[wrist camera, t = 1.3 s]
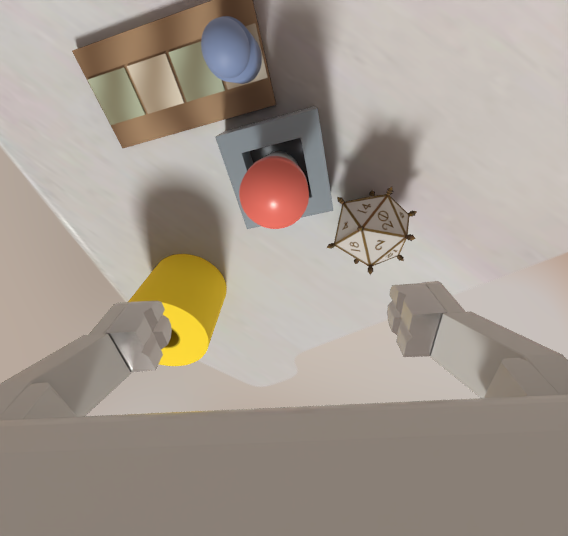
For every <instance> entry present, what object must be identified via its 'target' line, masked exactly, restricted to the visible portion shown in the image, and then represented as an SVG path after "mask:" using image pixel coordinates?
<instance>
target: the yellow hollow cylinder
mask: <svg viewBox="0 0 568 536" xmlns="http://www.w3.org/2000/svg"><path fill="white" fill-rule="evenodd" d="M225 296H226V283H225V280H224V278H223V276H222V274H221V273H220V271H219V270H218V269H217V268H216V267H215V266H214V265H212V264H211V263H210V262H208V261H206V260H205V259H203V258H200V257H197V256H194V255H189V254H176V255H171V256H169V257H166V258H165V259H163V260H162V261H160V262H159V264H158V265H157V266H156V267H155V269H154V270H153V271H152V272H151V274H150V275H149V276H148V277H147V279H146V280H145V281H144V282H143V284H142V285H141V286H140V287H139V289H138V290H137V291H136V293H135V294H134V295H133V296H132V298H131V299H130V300H129V301H128V302H138V301H160V302H162V304H163V306H164V309H165V310H164V313H163V315H164V316H166V317H167V318H168V319H169V321H170V323H171V329H172V332H171V338H170V341H169V343H168V345H167V346H165V347H164V348H163V349H161V351H162V353H163V356H162V358H161V360H160V362H159V364H160V365H166V366H182V365H188V364H191V363H193V362H196V361H197V360H199V359H200V358H202V357H203V356H204V354H205V353H206V351H207V349H208V346H209V343H210V340H211V337H212V334H213V331H214V328H215V325H216V322H217V319H218V316H219V313H220V310H221V307H222V305H223V302H224V299H225Z"/></svg>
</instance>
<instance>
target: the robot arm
mask: <svg viewBox="0 0 568 536" xmlns="http://www.w3.org/2000/svg"><path fill="white" fill-rule="evenodd" d="M390 297H391V299H392V302H391V303H390V304H389V305H388V310H387V315H388V322H389V326H390V328H391V331H392V332H394V333H395V334H396V335H397V344H398V346H399V348H400V350H401V352H402V354H403V357H415V356H416V357H417V356H431V358H432V359H433V360H434V361H435V362H437V363H438V364H439V365H440V366H442V367H443V368H444V369H445V370H447V371H448V372H449V373H450V374H452V375H453V376H454V377H455V378H457V379H458V380H459V381H460V382H461V383H463V384H464V385H465V386H466V387H468V388H469V389H470V390H471V391H472V392H474V393H475V394H476V395H477V396H479V397H480V399H457V400H436V401H435V400H434V401H413V402H391V403H370V404H347V405H325V406H303V407H283V408H282V407H281V408H262V409H261V408H259V409H237V410H215V411H195V412H172V413H151V414H128V415H107V416H86V415H87V414H88V413H89V412H90V411H91V410H92V409H93V408H95V407H96V406H97V405H98V404H99V403H100V402H101V401H102V400H103V399H104V398H105V397H106V396H107V395H108V394H110V393H111V392H112V391H113V390H114V389H115V388H116V387H117V386H118V385H119V384H120V383H121V382H122V381H124V380H125V379H126V378H127V377H128V376H129V375H130V374H131V372H140V371H150V370H151V371H152V370H156V368H157V366H158V364H159V362H160V360H161V358H162V356H163V353H162V351H161V349H163V348H164V347H165V346H167V345H168V343H169V341H170V338H171V332H172V329H171V323H170V321H169V319H168V318H167V317H166V316H164V315H163V313H164V310H165V309H164V306H163V304H162V302H160V301H138V302H122V303H121V302H120V303H116V304H114V305H113V306H112V307H111V308H110V310H109V311H108V312H107V313H106V314H105V315H104V317H103V318H102V319H101V320H100V322H99V323H98V324H97V325H96V326H95V327H94V329H93V330H92V331H91V332H90V333H89V334H88V335H83V336H82V337H80V338H78V339H77V340H75V341H73V342H71V343H69V344H68V345H66V346H64V347H63V348H61V349H59V350H58V351H56V352H54V353H52V354H50V355H49V356H47V357H45V358H44V359H42V360H40V361H39V362H37V363H35V364H33V365H31V366H30V367H28V368H26V369H25V370H23V371H21V372H20V373H18V374H16V375H14V376H13V377H11V378H9V379H7V380H6V381H4V382H2V383H1V384H0V536H568V360H567V359H566V358H565V357H564V356H563V355H562V354H560V353H557V352H555V351H553V350H551V349H549V348H547V347H545V346H542V345H541V344H538V343H536V342H534V341H532V340H530V339H528V338H526V337H524V336H521V335H519V334H517V333H515V332H513V331H511V330H509V329H507V328H504V327H502V326H500V325H498V324H496V323H494V322H492V321H489V320H487V319H485V318H483V317H481V316H479V315H477V314H475V313H473V312H465V310H464V309H463V308H462V307H461V306H460V305H459V304H458V302H457V301H456V300H455V299H454V298H453V296H452V295H451V294H450V293H449V292H448V290H447V289H446V288H445V287H444V286H443V285H442V283H440V282H438V281H434V282H424V283H417V284H403V285H392V287H391V289H390Z"/></svg>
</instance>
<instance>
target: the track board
mask: <svg viewBox="0 0 568 536" xmlns="http://www.w3.org/2000/svg"><path fill="white" fill-rule="evenodd" d="M222 16H229V17H233V18H235V19H237V20H239V21H240V22H241V23H242V24H243V25H244V26H245V27H246V28H247V29H248V31H249V32H250V33H251V34H252V36H253V37H254V38H255V40H256V41H257V43H258V45H259V47H260V50H261V54H262V64H261V69H260V71H259V73H258V75H257V76H256V78H255V79H253V80H252V81H251V82H249V83H245V84H240V83H233V82H226V81H223V80H221V79H219V78H218V77H216V76H215V75H214V74H213V73H212V72H211V70H210V69H209V67H208V66H207V64H206V62H205V60H204V57H203V54H202V49H201V39H202V34H203V31H204V29H205V27H206V26H207V24H208V23H209V22H210V21H212V20H213V19H215V18H219V17H222ZM72 52H73V54H74V56H75V58H76V59H77V61H78V63H79V65H80V67H81V69H82V71H83V73H84V75H85V77H86V79H87V81H88V83H89V85H90V86H91V88H92V90H93V92H94V94H95V96H96V98H97V100H98V102H99V104H100V106H101V108H102V110H103V111H104V113H105V115H106V117H107V119H108V121H109V123H110V125H111V127H112V129H113V131H114V133H115V135H116V136H117V138H118V140H119V142H120V144H121V146H122V148H126V147H129V146H133V145H136V144H140V143H143V142H147V141H150V140H154V139H157V138H161V137H165V136H168V135H172V134H175V133H179V132H182V131H186V130H189V129H193V128H196V127H200V126H203V125H207V124H210V123H214V122H217V121H221V120H224V119H228V118H231V117H235V116H238V115H242V114H245V113H249V112H252V111H256V110H259V109H263V108H266V107H270V106H273V105H276V102H275V97H274V93H273V88H272V84H271V79H270V75H269V70H268V66H267V61H266V57H265V53H264V48H263V44H262V39H261V35H260V30H259V26H258V21H257V17H256V12H255V8H254V3H253V0H212V1H209V2H206V3H203V4H201V5H198V6H195V7H192V8H190V9H187V10H184V11H181V12H178V13H176V14H173V15H170V16H167V17H165V18H162V19H159V20H156V21H154V22H151V23H148V24H145V25H142V26H140V27H137V28H134V29H131V30H129V31H126V32H123V33H120V34H117V35H115V36H112V37H109V38H106V39H104V40H101V41H98V42H95V43H92V44H90V45H87V46H84V47H81V48H79V49H76V50H73V51H72Z"/></svg>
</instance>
